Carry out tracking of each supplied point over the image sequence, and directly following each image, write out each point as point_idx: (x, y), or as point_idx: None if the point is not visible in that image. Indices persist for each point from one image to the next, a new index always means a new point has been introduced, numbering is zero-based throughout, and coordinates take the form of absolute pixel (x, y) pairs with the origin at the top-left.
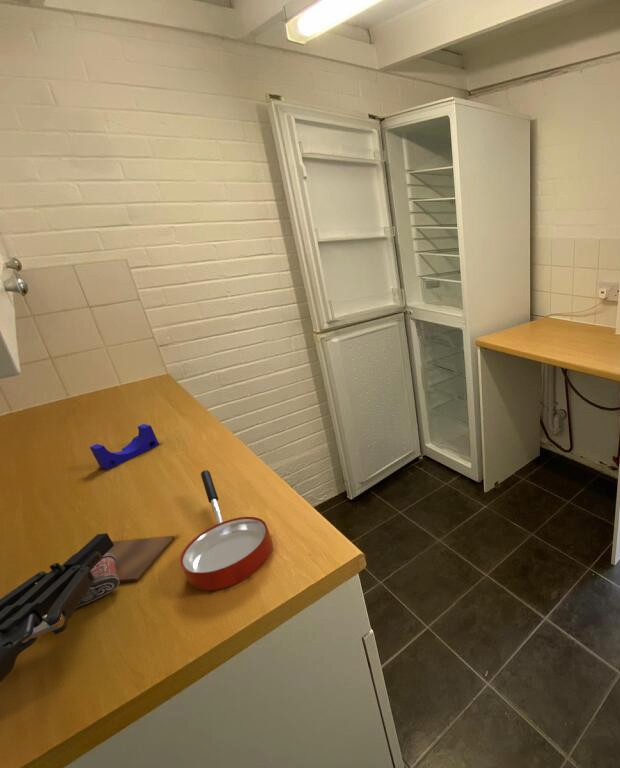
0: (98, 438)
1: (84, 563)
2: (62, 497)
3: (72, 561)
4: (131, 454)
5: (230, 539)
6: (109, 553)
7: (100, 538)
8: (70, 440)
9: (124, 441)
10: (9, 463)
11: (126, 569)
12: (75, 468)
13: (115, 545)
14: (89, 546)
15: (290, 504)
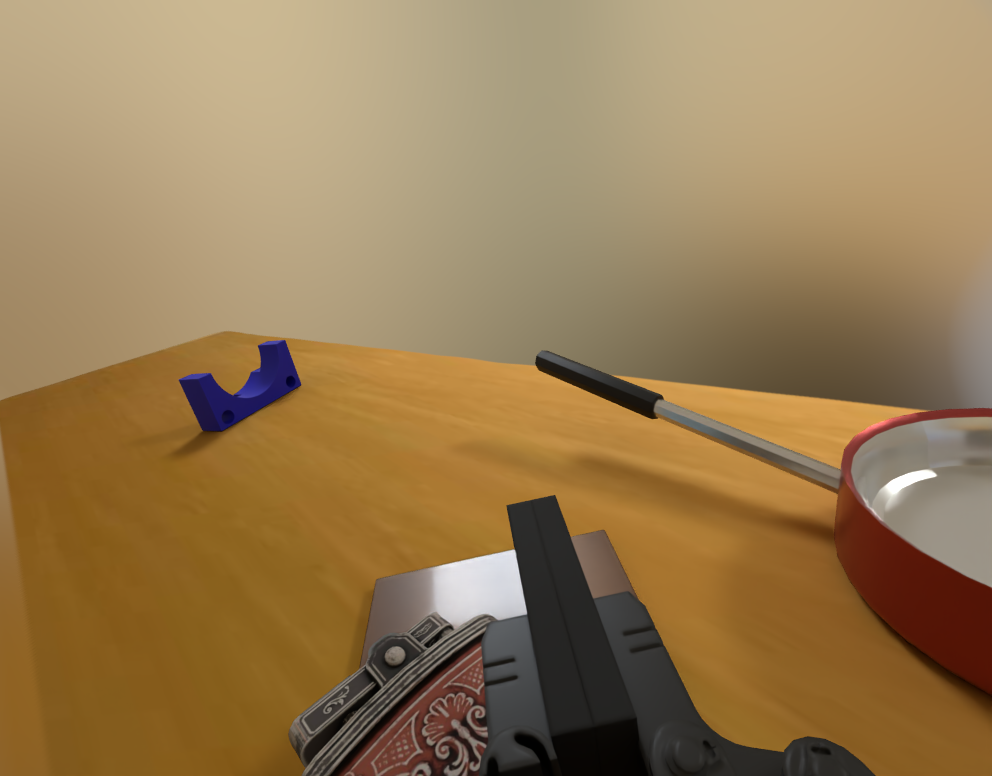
0: (169, 398)
1: (671, 697)
2: (145, 490)
3: (586, 691)
4: (259, 400)
5: (924, 502)
6: (485, 614)
7: (558, 520)
8: (116, 408)
9: None
10: (5, 455)
11: None
12: (148, 440)
13: (417, 586)
14: (555, 568)
15: (846, 409)
